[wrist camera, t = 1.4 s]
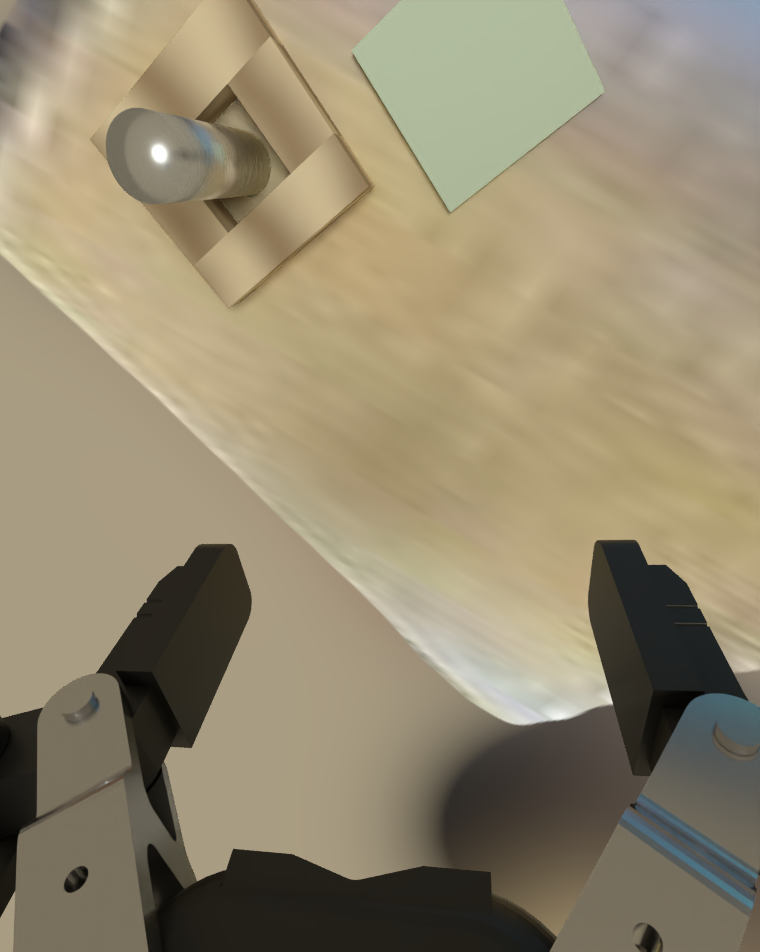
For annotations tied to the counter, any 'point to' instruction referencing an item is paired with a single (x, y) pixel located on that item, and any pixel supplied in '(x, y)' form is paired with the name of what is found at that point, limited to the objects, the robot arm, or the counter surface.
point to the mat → (477, 82)
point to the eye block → (282, 123)
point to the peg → (183, 158)
